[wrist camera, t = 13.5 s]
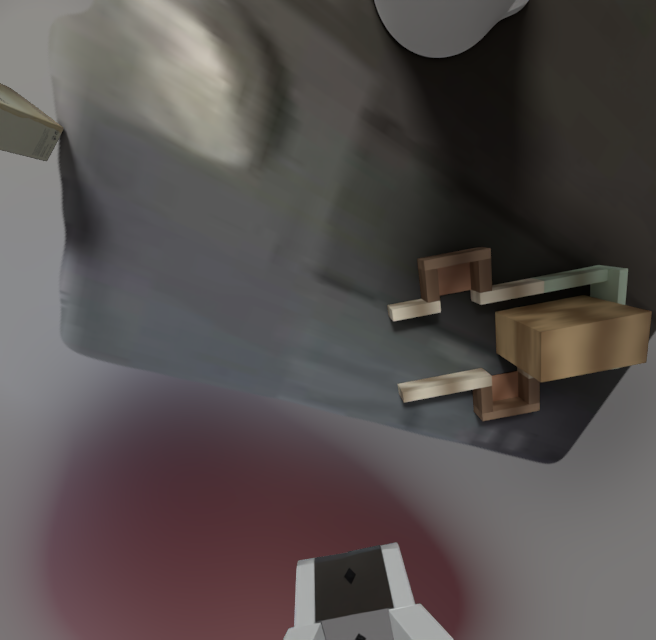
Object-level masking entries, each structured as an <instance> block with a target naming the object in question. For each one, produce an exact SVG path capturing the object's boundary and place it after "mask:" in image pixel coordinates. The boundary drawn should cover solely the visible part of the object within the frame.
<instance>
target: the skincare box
mask: <svg viewBox="0 0 656 640" xmlns="http://www.w3.org/2000/svg"><path fill="white" fill-rule="evenodd" d="M62 131H63V127H62V126H60V125H59V124H58V123H56V122H55V121H54V120H53V119H51V118H50V117H49V116H47V115H46V114H45V113H43V112H42V111H41V110H39V109H38V108H37V107H35V106H34V105H33V104H31V103H30V102H29V101H27V100H26V99H24V98H23V97H22V96H21V95H19V94H18V93H16V92H15V91H14V90H12V89H11V88H9V87H7V86H5V85H3V84H1V83H0V150H3V151H7V152H11V153H15V154H19V155H23V156H27V157H31V158H35V159H39V160H43V161H47V160H48V158H49V156H50V155H51V153H52V151H53V149H54V147H55V145H56V143H57V141H58V139H59V137H60V135H61V133H62Z"/></svg>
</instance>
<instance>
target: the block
mask: <svg viewBox="0 0 656 640" xmlns="http://www.w3.org/2000/svg"><path fill="white" fill-rule="evenodd" d="M651 313H652V311H648V310H644V309H639V308H635V307H631V306H627V305H623V304H619V303H615V302H610V301H606V300H602V299H598V298H594V297H590V296H585V295H581V296H575V297H570V298H565V299H560V300H554V301H549V302H544V303H538V304H533V305H528V306H523V307H517V308H512V309H507V310H502V311H496V312H495V324H496V352H497V354H499V355H500V356H502V357H503V358H505V359H506V360H508V361H509V362H511V363H512V364H514V365H515V366H517V367H518V368H520V369H521V370H523V371H524V372H526V373H527V374H529V375H530V376H532V377H533V378H535V379H537V380H538V381H540V382H547V381H552V380H557V379H562V378H568V377H573V376H578V375H583V374H589V373H594V372H599V371H604V370H610V369H615V368H620V367H625V366H631V365H636V364H641V363H646V360H647V351H648V342H649V332H650V323H651Z"/></svg>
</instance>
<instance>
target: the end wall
mask: <svg viewBox="0 0 656 640" xmlns="http://www.w3.org/2000/svg"><path fill="white" fill-rule="evenodd" d="M591 267H598V268H606V269H608V281H604V282H599V283H593V284H591V285H590V297H594V298H598V299H602V300H606V301H610V302H615V303H619V304H623V305H625V302H626V290H627V277H628V269H627V268H619V267H611V266H603V265H596V266H591ZM615 369H618V368H615Z"/></svg>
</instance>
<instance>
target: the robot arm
mask: <svg viewBox="0 0 656 640" xmlns="http://www.w3.org/2000/svg"><path fill="white" fill-rule="evenodd" d="M528 1H529V0H374V2H375V5H376V8H377V11H378V13H379V16H380V18H381V20H382V22H383V23H384V25H385V27H386V28H387V30H388V31H389V32H390V34H391V35H392V36H393V37H394V38H395V39H396V40H397V41H398V42H399V43H400V44H401V45H402V46H404V47H405V48H407V49H408V50H410V51H412V52H414V53H416V54H419V55H422V56H426V57H432V58H444V57H449V56H453V55H457V54H459V53H462V52H464V51H466V50H467V49H469V48H471V47H472V46H474V45H475V44H476V43H477V42H479V41H480V40H481V39H482V38H483V37H484V36H485V35H486V34H487V33H488V32H489V31H490V29H491V28H492V27H493V26H494V25H495V24H496V23H497V22H499V21H500V20H502V19H504V18H506V17H509V16H511V15H513V14H515V13H517V12H518V11H520V10H521V9H522V8H523V7H524V6H525V5H526V3H527V2H528ZM283 640H454V639H453V638H452V637H451V636H450V635H449V634H448V633H447V632H446V630H445V629H444V628H443V627H442V626H441V625H440V624H439V623H438V622H437V621H436V620H435V618H434V617H433V616H432V615H431V614H430V613H429V612H428V611H427V610H426V609H425V608H424V607H423V606H422V605H421V604H415V602H414V598H413V594H412V591H411V587H410V584H409V580H408V577H407V573H406V570H405V566H404V563H403V559H402V555H401V552H400V549H399V545H398V544H397V542H396V543H391V544H386V545H381V547H380V545H378V546H374V547H369V548H364V549H360V550H354V551H349V552H348V553H343V554H336V555H330V556H324V557H317V558H311V559H306V560H300V561H298V564H297V571H296V596H295V619H294V627H293V628H289V629H288V631H287V633H286V635H285V637H284V639H283Z"/></svg>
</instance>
